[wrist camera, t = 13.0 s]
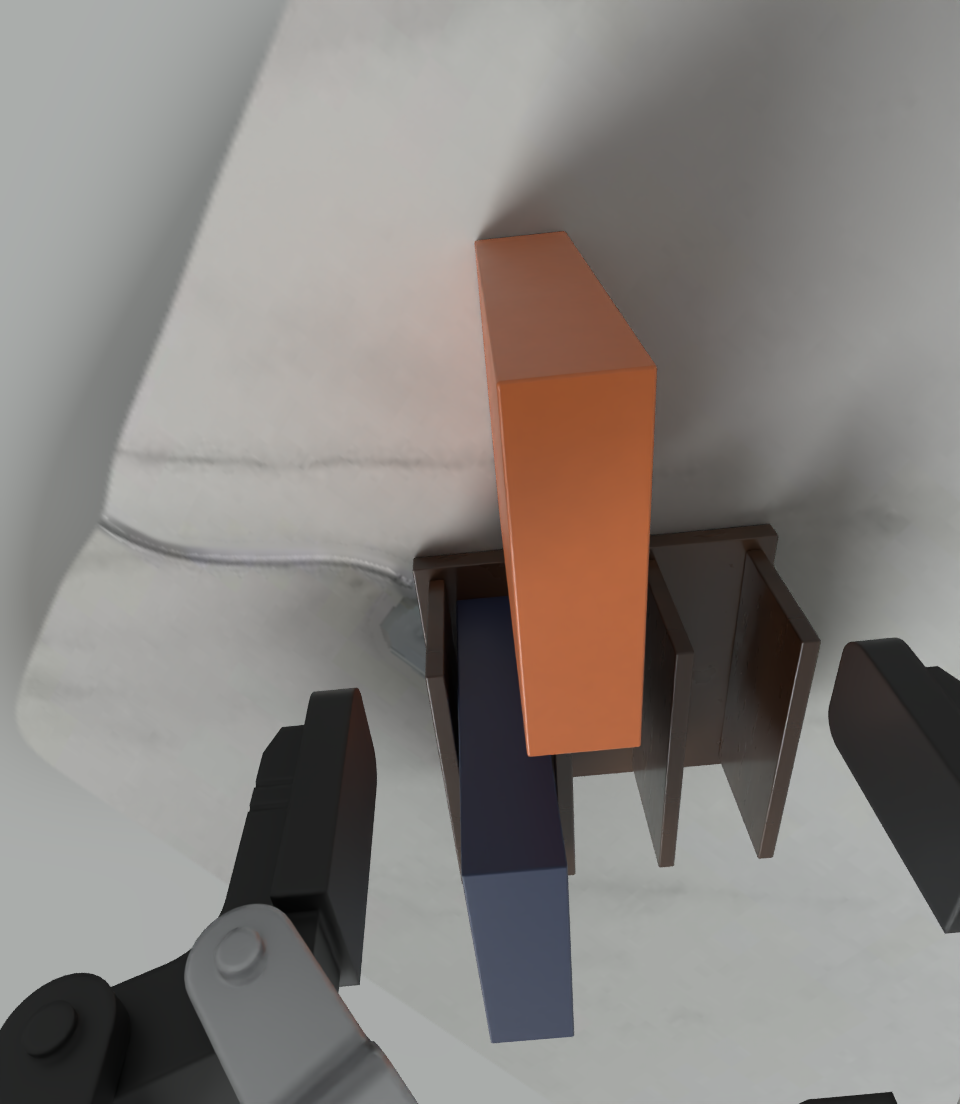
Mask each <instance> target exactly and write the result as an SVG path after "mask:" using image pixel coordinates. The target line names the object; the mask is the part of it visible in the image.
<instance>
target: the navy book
mask: <svg viewBox="0 0 960 1104" xmlns="http://www.w3.org/2000/svg"><path fill="white" fill-rule="evenodd" d="M456 613H457V667H458V721H459V775H460V829H461V876H462V882H463V887H464V893H465V899H466V904H467V910H468V916H469V921H470V927H471V932H472V938H473V944H474V949H475V955H476V961H477V966H478V972H479V978H480V983H481V989H482V994H483V1000H484V1006H485V1011H486V1017H487V1023H488V1028H489V1034H490V1040H491V1043H501V1042H513V1041H525V1040H537V1039H549V1038H561V1037H572V1036H574V1018H573V992H572V967H571V941H570V915H569V890H568V866H567V859H566V852H565V846H564V839H563V832H562V826H561V819H560V812H559V806H558V799H557V792H556V786H555V779H554V772H553V766H552V759H551V755H544V756H533V757H529V756H528V755H527V749H526V740H525V732H524V723H523V714H522V706H521V697H520V688H519V680H518V671H517V662H516V654H515V645H514V636H513V628H512V619H511V610H510V602H509V596H500V597H489V598H479V599H468V600H458V601H457V602H456Z"/></svg>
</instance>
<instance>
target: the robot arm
mask: <svg viewBox="0 0 960 1104" xmlns="http://www.w3.org/2000/svg"><path fill="white" fill-rule="evenodd" d="M828 719H829V726H830V731H831V734H832V737H833V740H834V742H835V745H836V747H837V748H838V750H839V752H840V754H841V755H842V757H843V759H844V760H845V762H846V764H847V766H848V767H849V769H850V771H851V772H852V774H853V776H854V778H855V779H856V781H857V783H858V785H859V786H860V788H861V790H862V791H863V793H864V795H865V797H866V798H867V800H868V802H869V803H870V805H871V807H872V809H873V810H874V812H875V814H876V816H877V817H878V819H879V821H880V822H881V824H882V826H883V828H884V829H885V831H886V833H887V834H888V836H889V838H890V840H891V841H892V843H893V845H894V847H895V848H896V850H897V852H898V853H899V855H900V857H901V859H902V860H903V862H904V864H905V865H906V867H907V869H908V871H909V872H910V874H911V876H912V877H913V879H914V881H915V883H916V884H917V886H918V888H919V890H920V891H921V893H922V895H923V896H924V898H925V900H926V902H927V903H928V905H929V907H930V908H931V910H932V912H933V914H934V915H935V917H936V919H937V921H938V922H939V924H940V926H941V927H942V929H943V931H944V933H956V932H960V681H959V680H958V679H956V678H955V677H953V676H952V675H950V674H949V673H947V672H946V671H944V670H943V669H941V668H940V667H938V666H935V667H925V666H924V665H923V663H922V662H921V661H920V660H919V658H918V657H917V656H916V655H915V653H914V652H913V651H912V650H911V649H910V647H909V646H908V645H907V644H906V643H905V642H904V641H903V640H901V639H899V638H886V639H876V640H865V641H855V642H849V643H847V644H846V646H845V647H844V649H843V652H842V656H841V660H840V664H839V668H838V672H837V676H836V680H835V685H834V689H833V693H832V697H831V701H830V705H829V711H828ZM376 787H377V769H376V758H375V751H374V746H373V742H372V738H371V734H370V730H369V726H368V722H367V718H366V713H365V709H364V705H363V701H362V697H361V693H360V691H359V689H358V688H348V689H338V690H328V691H317V692H313V693H312V694H311V696H310V700H309V705H308V709H307V714H306V719H305V724H304V725H299V726H289V727H282V728H281V729H280V730H279V732H278V733H277V735H276V736H275V737H274V739H273V740H272V741H271V743H270V744H269V746H268V747H267V748H266V750H265V751H264V752H263V755H262V759H261V763H260V766H259V770H258V774H257V778H256V788H254V790H253V794H252V798H251V802H250V812H248V814H247V818H246V822H245V826H244V829H243V833H242V837H241V841H240V845H239V849H238V853H237V857H236V861H235V865H234V869H233V873H232V877H231V881H230V885H229V889H228V892H227V896H226V900H225V903H224V906H223V909H222V911H221V913H220V915H219V917H218V918H217V919H216V920H215V921H213V922H212V923H211V924H210V925H209V926H208V927H207V928H206V929H205V930H204V931H203V932H202V933H201V935H200V936H199V937H198V939H197V940H196V942H195V944H194V945H193V947H192V948H191V949H190V950H189V951H188V952H186V953H185V954H183V955H182V956H180V957H179V958H177V959H175V960H173V961H171V962H169V963H167V964H165V965H163V966H160V967H158V968H155V969H153V970H151V971H148V972H146V973H144V974H141V975H139V976H136V977H134V978H131V979H129V980H127V981H124V982H122V983H120V984H117V985H115V986H112V987H110V986H109V984H108V983H107V982H106V981H105V980H103V979H102V978H101V977H99V976H96V975H94V974H89V973H74V974H70V975H65V976H63V977H60V978H57V979H55V980H53V981H51V982H49V983H47V984H45V985H43V986H42V987H40V988H39V989H37V990H36V991H35V992H33V993H32V994H31V995H30V996H28V997H27V998H26V999H25V1000H24V1001H23V1002H22V1003H21V1004H20V1005H19V1006H18V1007H17V1008H16V1009H15V1010H14V1011H13V1012H12V1014H11V1015H10V1016H9V1017H8V1019H7V1020H6V1022H5V1023H4V1025H3V1026H2V1028H1V1030H0V1104H418V1103H417V1101H416V1099H415V1098H414V1096H413V1095H412V1094H411V1092H410V1090H409V1089H408V1088H407V1086H406V1084H405V1083H404V1081H403V1080H402V1078H401V1077H400V1075H399V1074H398V1072H397V1071H396V1069H395V1068H394V1066H393V1065H392V1063H391V1062H390V1061H389V1059H388V1058H387V1056H386V1055H385V1053H384V1052H383V1051H382V1050H381V1048H380V1047H379V1046H378V1045H377V1044H376V1043H375V1042H374V1041H370V1039H369V1038H368V1037H367V1036H366V1034H365V1033H364V1032H363V1030H362V1029H361V1027H360V1026H359V1024H358V1023H357V1021H356V1020H355V1018H354V1017H353V1015H352V1014H351V1012H350V1011H349V1009H348V1007H347V1006H346V1004H345V1003H344V1001H343V1000H342V998H341V997H340V995H339V994H338V991H339V987H342V986H352V985H360V975H361V963H362V952H363V940H364V928H365V916H366V905H367V893H368V881H369V870H370V858H371V846H372V835H373V823H374V811H375V799H376ZM800 1104H897V1102H896V1100H895V1097H894V1095H893V1093H892V1092H886V1093H875V1094H864V1095H853V1096H841V1097H830V1098H819V1099H808V1100H806V1101H804V1102H802V1103H800ZM957 1104H960V1098H959V1100H958V1103H957Z"/></svg>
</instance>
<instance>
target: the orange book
mask: <svg viewBox="0 0 960 1104" xmlns="http://www.w3.org/2000/svg"><path fill="white" fill-rule="evenodd" d="M475 252H476V263H477V274H478V285H479V296H480V307H481V318H482V329H483V340H484V351H485V362H486V373H487V384H488V395H489V406H490V417H491V428H492V439H493V450H494V461H495V472H496V483H497V494H498V505H499V515H500V524H501V532H502V541H503V550H504V558H505V567H506V576H507V584H508V593H509V602H510V610H511V619H512V628H513V636H514V645H515V654H516V662H517V671H518V680H519V688H520V697H521V706H522V714H523V723H524V732H525V740H526V749H527V755H528V756H529V757H533V756H544V755H554V754H565V753H576V752H587V751H598V750H609V749H619V748H630V747H639V746H640V745H641V729H642V705H643V682H644V659H645V636H646V613H647V590H648V567H649V544H650V521H651V498H652V475H653V452H654V429H655V406H656V383H657V367H656V365H655V363H654V362H653V360H652V359H651V357H650V356H649V355H648V353H647V352H646V350H645V349H644V347H643V346H642V344H641V343H640V341H639V340H638V338H637V337H636V335H635V334H634V332H633V331H632V329H631V328H630V326H629V325H628V323H627V322H626V321H625V319H624V318H623V316H622V315H621V313H620V312H619V310H618V309H617V307H616V306H615V304H614V303H613V301H612V300H611V298H610V297H609V295H608V294H607V292H606V291H605V289H604V288H603V287H602V285H601V284H600V282H599V281H598V279H597V278H596V276H595V275H594V273H593V272H592V270H591V269H590V267H589V266H588V264H587V263H586V261H585V260H584V258H583V257H582V255H581V254H580V253H579V251H578V250H577V248H576V247H575V245H574V244H573V242H572V241H571V239H570V238H569V236H568V235H567V233H566V232H565V231H560V232H551V233H542V234H532V235H523V236H513V237H504V238H495V239H485V240H477V241H475Z"/></svg>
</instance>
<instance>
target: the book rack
mask: <svg viewBox="0 0 960 1104" xmlns="http://www.w3.org/2000/svg"><path fill="white" fill-rule="evenodd" d="M777 540H778V534H777V533H776V532H775V530H774V529H773V527H772V526H771V525H770V524H766V525H756V526H745V527H735V528H725V529H714V530H704V531H693V532H683V533H672V534H662V535H651V536H650V544H649V567H648V590H647V613H646V636H645V659H644V682H643V705H642V729H641V745H640V746H639V747H630V748H619V749H609V750H598V751H587V752H576V753H565V754H554V755H551V759H552V766H553V772H554V779H555V786H556V792H557V799H558V806H559V812H560V819H561V826H562V832H563V839H564V846H565V852H566V859H567V866H568V875H575V840H574V805H573V777H578V776H590V775H601V774H612V773H623V772H634V774H635V778H636V782H637V786H638V789H639V793H640V797H641V801H642V805H643V808H644V812H645V816H646V820H647V824H648V827H649V831H650V835H651V839H652V843H653V847H654V850H655V854H656V858H657V862H658V866H659V867H670V866H674V860H675V850H676V840H677V829H678V819H679V809H680V799H681V788H682V778H683V768H684V767H690V766H701V765H712V764H722V767H723V769H724V772H725V775H726V777H727V780H728V782H729V785H730V787H731V790H732V793H733V795H734V798H735V800H736V803H737V805H738V808H739V810H740V813H741V816H742V818H743V821H744V823H745V826H746V828H747V831H748V834H749V836H750V839H751V841H752V844H753V846H754V849H755V852H756V854H757V857H758V858H759V859H761V858H772V857H773V855H774V850H775V846H776V841H777V837H778V832H779V828H780V823H781V819H782V814H783V810H784V805H785V801H786V796H787V792H788V787H789V783H790V778H791V774H792V769H793V765H794V760H795V756H796V751H797V747H798V742H799V738H800V733H801V729H802V724H803V720H804V716H805V711H806V707H807V702H808V698H809V693H810V689H811V684H812V680H813V675H814V671H815V666H816V662H817V657H818V653H819V648H820V644H821V640H820V638H819V637H818V635H817V634H816V632H815V630H814V629H813V627H812V626H811V624H810V623H809V621H808V620H807V618H806V616H805V615H804V613H803V612H802V610H801V609H800V607H799V606H798V604H797V602H796V601H795V599H794V598H793V596H792V595H791V593H790V591H789V590H788V588H787V587H786V585H785V584H784V582H783V581H782V579H781V577H780V576H779V574H778V573H777V571H776V570H775V568H774V567H773V565H774V559H775V553H776V547H777ZM413 575H414V581H415V587H416V593H417V599H418V604H419V610H420V616H421V622H422V628H423V633H424V639H425V645H426V669H425V679H426V685H427V690H428V696H429V702H430V707H431V713H432V718H433V724H434V730H435V735H436V741H437V746H438V752H439V758H440V763H441V769H442V774H443V780H444V786H445V791H446V797H447V802H448V808H449V814H450V819H451V825H452V830H453V836H454V841H455V847H456V853H457V858H458V864H459V869H460V875H461V829H460V775H459V721H458V667H457V613H456V602H457V601H458V600H468V599H479V598H489V597H500V596H509V593H508V584H507V576H506V567H505V558H504V550H494V551H484V552H473V553H463V554H453V555H442V556H432V557H421V558H414V559H413ZM461 881H462V876H461ZM462 884H463V882H462Z"/></svg>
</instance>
